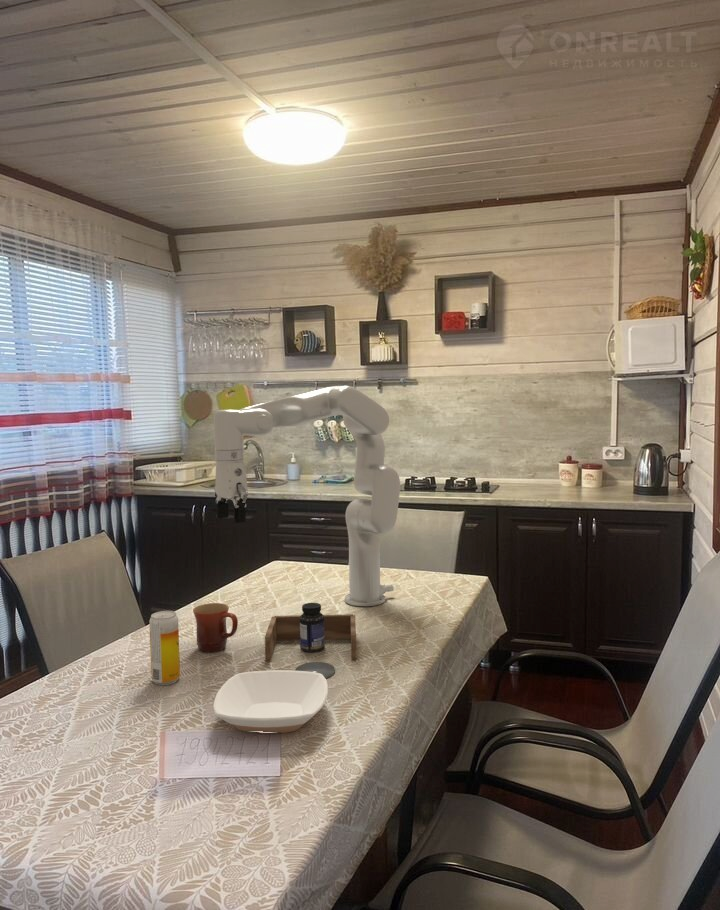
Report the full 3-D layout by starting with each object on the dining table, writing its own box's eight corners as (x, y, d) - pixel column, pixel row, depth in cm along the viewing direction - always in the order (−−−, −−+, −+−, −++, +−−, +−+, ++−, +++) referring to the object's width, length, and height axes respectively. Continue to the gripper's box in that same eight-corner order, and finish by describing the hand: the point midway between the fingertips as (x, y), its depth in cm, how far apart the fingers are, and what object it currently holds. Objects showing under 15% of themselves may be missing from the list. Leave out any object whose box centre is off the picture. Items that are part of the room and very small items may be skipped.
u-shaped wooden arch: (272, 638, 173) (272, 615, 172) (355, 636, 173) (355, 614, 173) (265, 661, 157) (264, 636, 157) (356, 659, 158) (356, 635, 157)
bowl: (230, 693, 140) (229, 669, 140) (332, 694, 140) (331, 669, 139) (203, 746, 119) (202, 718, 118) (323, 747, 118) (322, 718, 118)
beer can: (185, 676, 149) (183, 611, 148) (169, 687, 143) (167, 620, 142) (162, 673, 151) (160, 609, 150) (145, 684, 145) (143, 617, 144)
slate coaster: (323, 661, 157) (323, 659, 157) (342, 674, 149) (342, 671, 149) (288, 669, 152) (288, 667, 152) (306, 683, 145) (306, 681, 145)
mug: (186, 651, 164) (185, 611, 164) (209, 640, 172) (207, 601, 171) (226, 658, 159) (225, 617, 158) (247, 646, 167) (246, 606, 166)
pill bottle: (326, 644, 168) (325, 601, 167) (322, 653, 162) (322, 609, 161) (302, 643, 169) (301, 601, 168) (298, 652, 163) (297, 608, 162)
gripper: (258, 457, 171) (259, 522, 172) (227, 453, 185) (229, 514, 186) (231, 459, 167) (233, 526, 168) (202, 455, 180) (204, 517, 181)
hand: (231, 520), depth 177 cm, fingers open, 9 cm apart
